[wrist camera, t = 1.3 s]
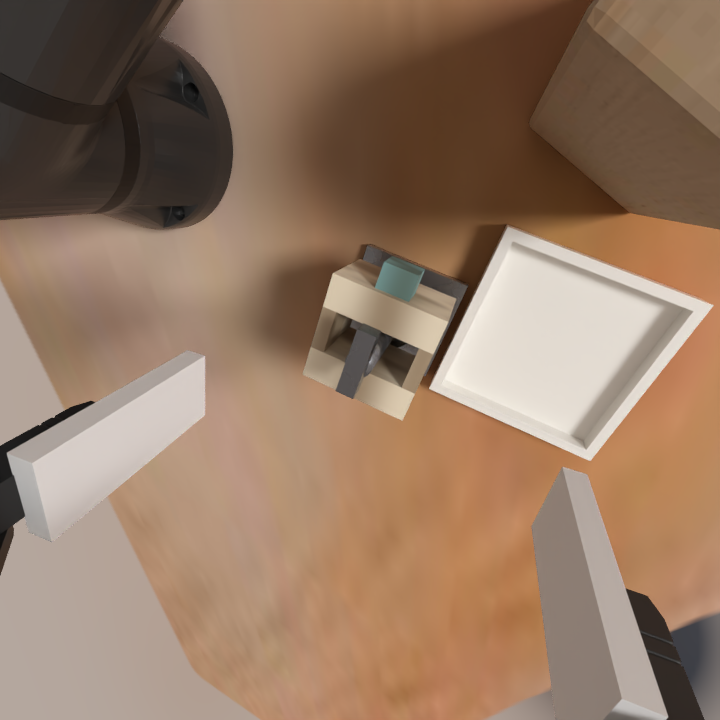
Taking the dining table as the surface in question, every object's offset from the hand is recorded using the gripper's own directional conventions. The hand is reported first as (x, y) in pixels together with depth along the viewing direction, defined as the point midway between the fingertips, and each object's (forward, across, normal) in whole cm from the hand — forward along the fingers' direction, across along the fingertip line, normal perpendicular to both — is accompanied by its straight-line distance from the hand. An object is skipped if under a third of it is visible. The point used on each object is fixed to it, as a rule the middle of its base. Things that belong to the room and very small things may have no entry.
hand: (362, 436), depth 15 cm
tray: (+23, +10, -2) cm, 25 cm away
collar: (+19, -3, -3) cm, 19 cm away
